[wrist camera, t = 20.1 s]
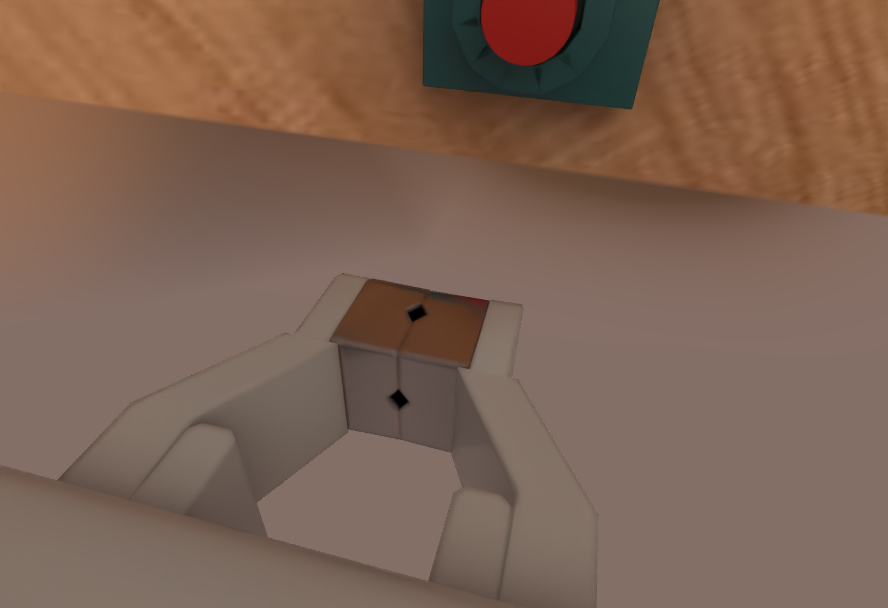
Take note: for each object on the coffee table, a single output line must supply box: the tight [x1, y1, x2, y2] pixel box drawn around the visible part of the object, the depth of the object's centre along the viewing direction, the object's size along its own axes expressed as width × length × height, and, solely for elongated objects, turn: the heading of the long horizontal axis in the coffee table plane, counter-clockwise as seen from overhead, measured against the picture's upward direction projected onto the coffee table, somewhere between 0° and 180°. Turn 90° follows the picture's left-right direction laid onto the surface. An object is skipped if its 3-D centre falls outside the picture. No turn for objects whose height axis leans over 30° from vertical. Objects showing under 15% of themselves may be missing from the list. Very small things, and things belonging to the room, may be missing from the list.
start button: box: [481, 0, 577, 66], centre depth 21 cm, size 4×4×2 cm
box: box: [423, 0, 660, 109], centre depth 23 cm, size 10×8×4 cm
